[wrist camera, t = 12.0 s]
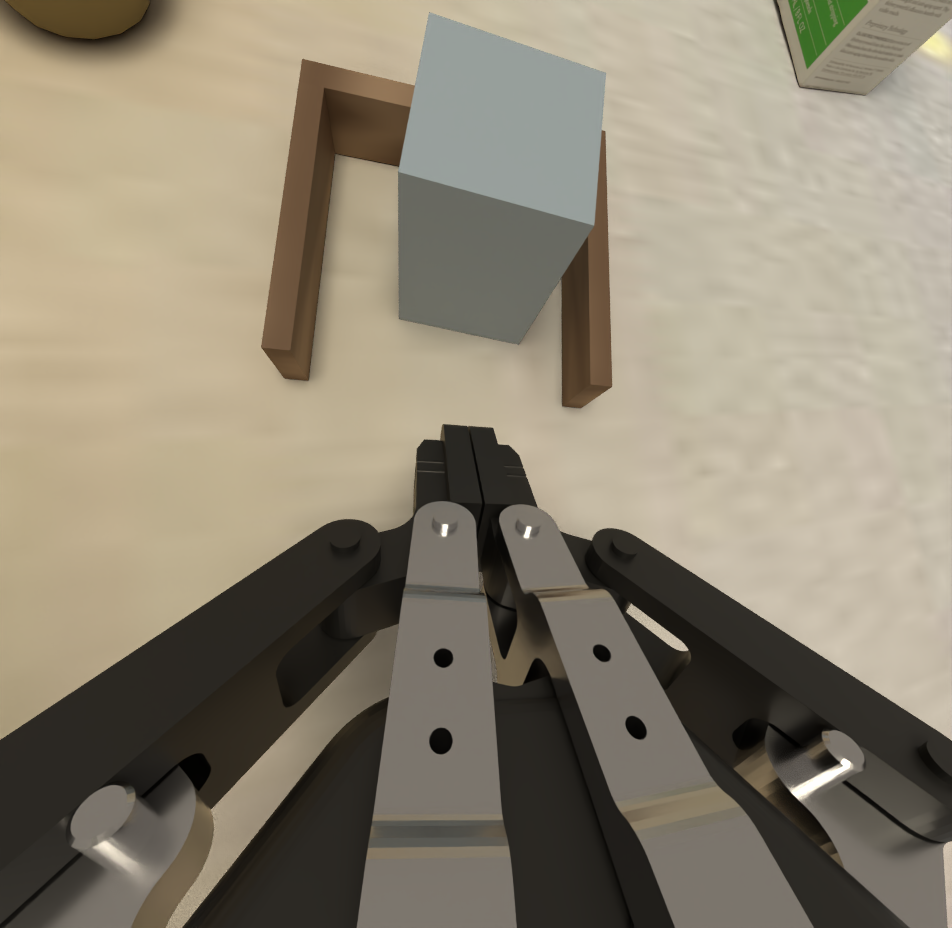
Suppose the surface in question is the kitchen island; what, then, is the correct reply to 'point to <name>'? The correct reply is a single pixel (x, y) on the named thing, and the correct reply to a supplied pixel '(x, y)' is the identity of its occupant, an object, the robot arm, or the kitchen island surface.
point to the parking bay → (381, 139)
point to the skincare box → (856, 38)
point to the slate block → (493, 180)
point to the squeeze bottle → (82, 16)
